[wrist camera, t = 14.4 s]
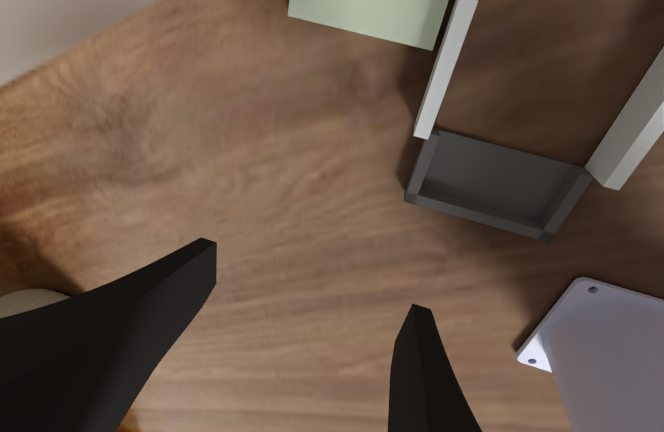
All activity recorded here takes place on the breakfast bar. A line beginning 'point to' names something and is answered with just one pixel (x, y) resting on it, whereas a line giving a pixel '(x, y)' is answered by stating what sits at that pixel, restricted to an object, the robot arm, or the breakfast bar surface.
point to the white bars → (618, 144)
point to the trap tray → (495, 184)
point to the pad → (378, 18)
